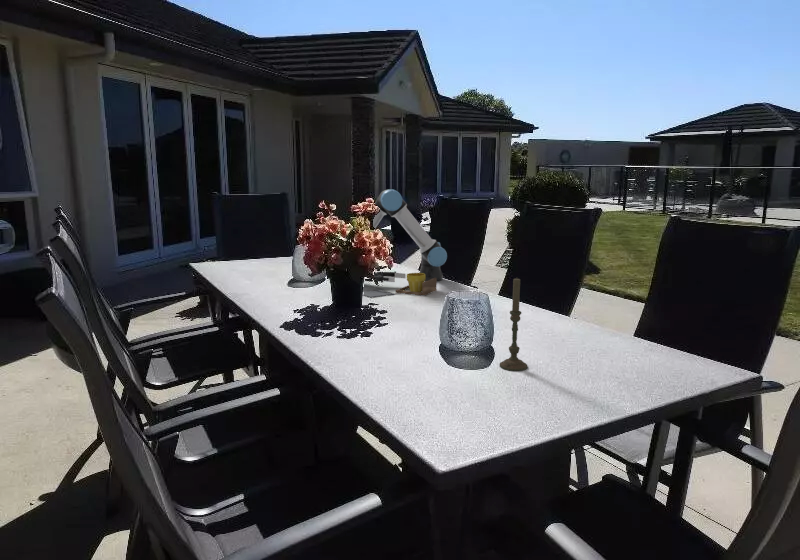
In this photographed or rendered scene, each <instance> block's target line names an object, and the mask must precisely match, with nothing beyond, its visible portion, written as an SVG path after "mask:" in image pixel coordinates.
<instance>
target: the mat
mask: <svg viewBox="0 0 800 560" xmlns="http://www.w3.org/2000/svg"><path fill="white" fill-rule="evenodd" d="M363 291H364V296H363V297H366V296H367V298H369V297H370V298H371V299H372V297H373V298H379V297H380V296H381V297H387V296H386V295H388V296H394V295H395V293H394V292H390V291H387V290H384V289H380V288H376V289H369V290H363ZM370 298H369V299H370Z"/></svg>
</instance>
